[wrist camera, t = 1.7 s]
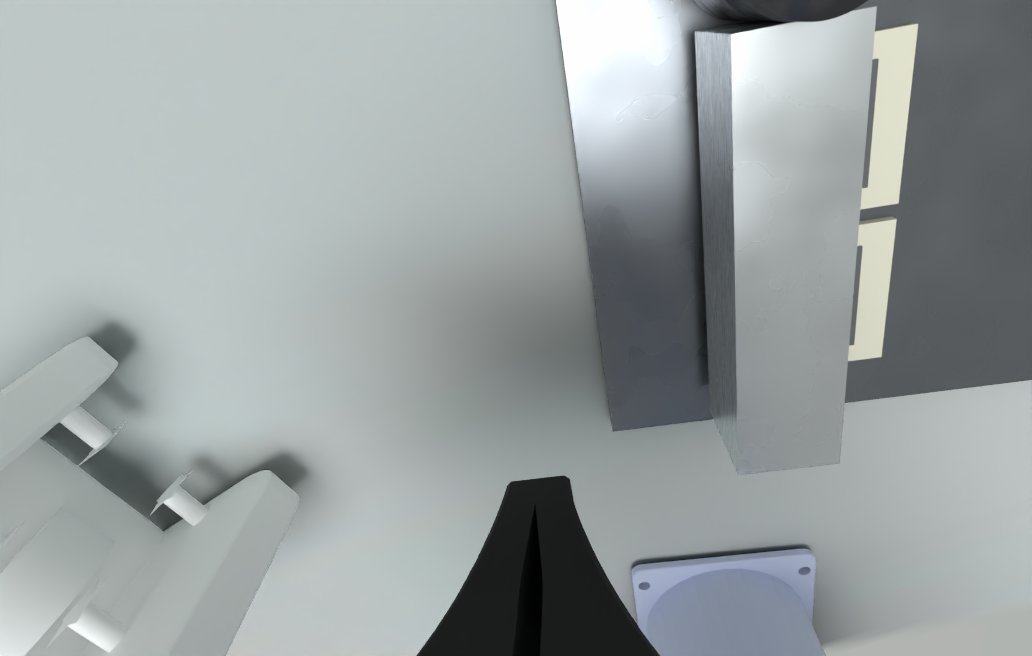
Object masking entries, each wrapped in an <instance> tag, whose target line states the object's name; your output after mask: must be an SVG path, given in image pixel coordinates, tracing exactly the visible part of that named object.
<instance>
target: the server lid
mask: <svg viewBox="0 0 1032 656" xmlns="http://www.w3.org/2000/svg"><path fill="white" fill-rule="evenodd" d="M555 2H556V10H557V17H558V25H559V33H560V40H561V48H562V55H563V63H564V70H565V78H566V85H567V93H568V101H569V108H570V116H571V123H572V131H573V138H574V146H575V153H576V161H577V169H578V176H579V184H580V191H581V199H582V206H583V214H584V221H585V229H586V237H587V244H588V252H589V259H590V267H591V274H592V282H593V289H594V297H595V305H596V312H597V320H598V327H599V335H600V342H601V350H602V357H603V365H604V373H605V380H606V388H607V395H608V403H609V410H610V418H611V424H612V429H613V431H621V430H629V429H637V428H645V427H653V426H661V425H669V424H677V423H685V422H694V421H702V420H710V419H713V416H712V414H711V412H710V396H709V372H708V347H707V322H706V298H705V273H704V248H703V224H702V199H701V174H700V150H699V125H698V100H697V76H696V51H695V31H699V30H704V29H709V28H714V27H719V26H724V25H729V24H735V23H740V22H745V21H727V20H722V19H719V18H716V17H713V16H711V15H709V14H708V13H706V12H705V11H704V10H702V9H701V8H700V7H699V6H698V5H697V4H696V3H695V1H694V0H555ZM869 6H877V11H876V23H875V30H880V29H885V28H891V27H896V26H901V25H907V24H912V23H914V24H918V31H917V40H916V49H915V58H914V67H913V76H912V85H911V94H910V103H909V112H908V121H907V131H906V140H905V149H904V158H903V167H902V176H901V185H900V194H899V203H898V204H892V205H886V206H880V207H873V208H867V209H860V219H859V221H865V220H871V219H878V218H884V217H890V216H892V217H894V218H896V219H897V221H896V230H895V239H894V248H893V257H892V266H891V275H890V284H889V293H888V302H887V311H886V320H885V330H884V339H883V348H882V357H877V358H870V359H862V360H854V361H848V366H847V378H846V391H845V403H848V402H856V401H864V400H872V399H880V398H888V397H896V396H905V395H913V394H921V393H929V392H937V391H945V390H953V389H961V388H969V387H978V386H986V385H994V384H1002V383H1010V382H1018V381H1026V380H1032V0H868V1H866V2H865V3H864V4H862V5H861V6H859V7H869Z"/></svg>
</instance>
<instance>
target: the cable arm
mask: <svg viewBox="0 0 1032 656" xmlns="http://www.w3.org/2000/svg"><path fill="white" fill-rule="evenodd" d="M694 1H695V3H696V4H697V5H698V6H699V7H700V8H701V9H702V10H704V11H705V12H706V13H708V14H709V15H711V16H713V17H716V18H719V19H722V20H727V21H745V22H740V23H735V24H729V25H724V26H719V27H714V28H709V29H704V30H699V31H695V51H696V76H697V100H698V125H699V150H700V174H701V199H702V224H703V248H704V273H705V298H706V322H707V347H708V372H709V396H710V412H711V414H712V416H713V419H714V421H715V423H716V425H717V428H718V430H719V432H720V435H721V437H722V439H723V442H724V444H725V446H726V448H727V451H728V453H729V455H730V458H731V460H732V462H733V464H734V467H735V469H736V471H737V474H738V475H741V474H750V473H759V472H768V471H777V470H786V469H794V468H803V467H812V466H821V465H830V464H839V463H840V452H841V440H842V427H843V415H844V403H845V391H846V378H847V366H848V354H849V342H850V329H851V317H852V305H853V293H854V280H855V268H856V256H857V244H858V231H859V219H860V207H861V195H862V182H863V170H864V158H865V146H866V133H867V121H868V109H869V97H870V84H871V72H872V60H873V48H874V35H875V23H876V11H877V6H869V7H859V6H861V5H862V4H864V3H865V2H866V1H868V0H694Z"/></svg>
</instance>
